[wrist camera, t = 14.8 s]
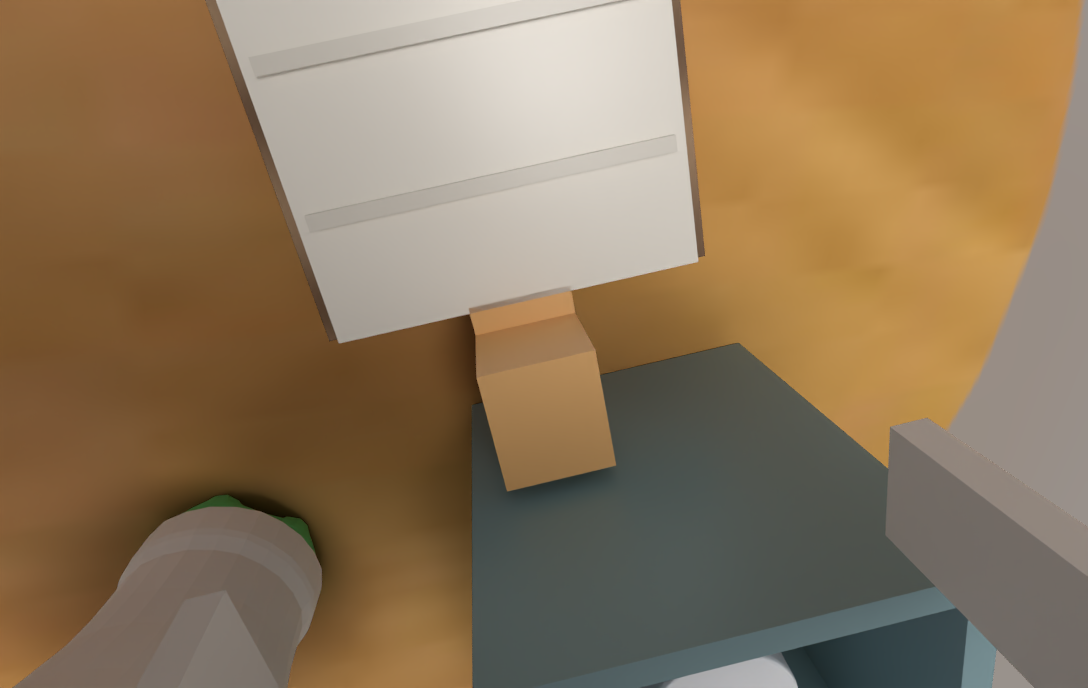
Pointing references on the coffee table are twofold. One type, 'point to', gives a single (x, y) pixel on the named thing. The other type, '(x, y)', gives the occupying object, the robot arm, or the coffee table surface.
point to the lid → (480, 182)
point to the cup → (197, 594)
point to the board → (283, 199)
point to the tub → (706, 549)
